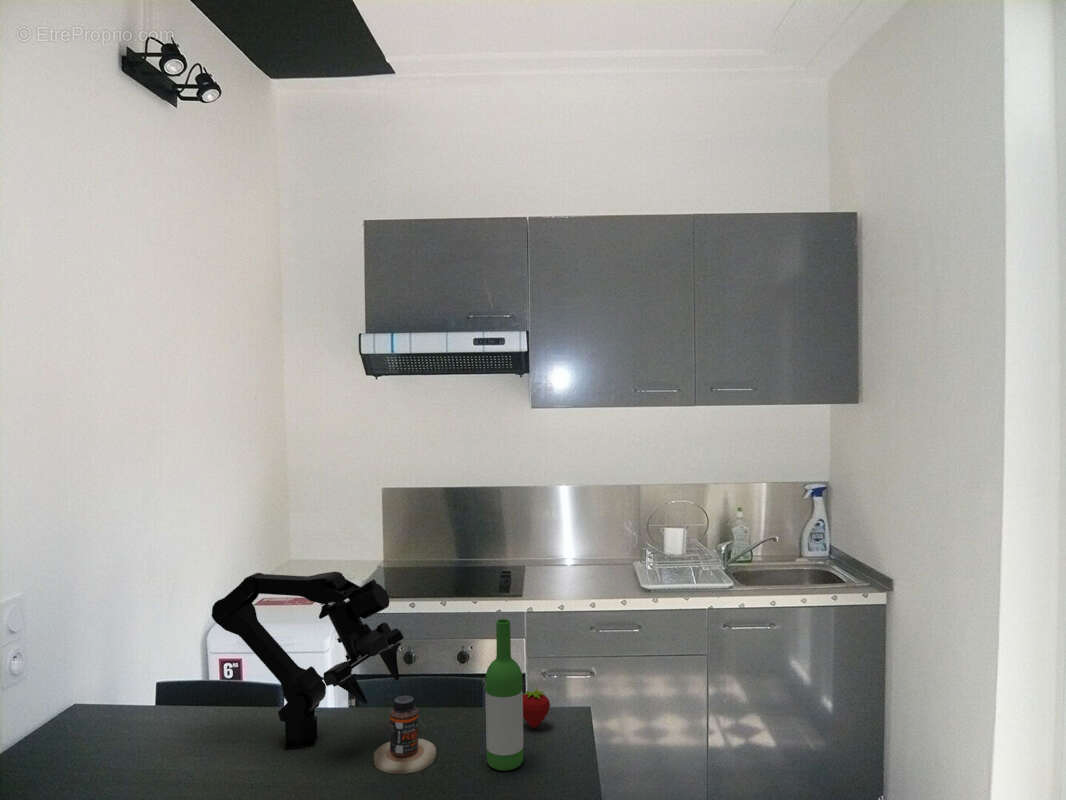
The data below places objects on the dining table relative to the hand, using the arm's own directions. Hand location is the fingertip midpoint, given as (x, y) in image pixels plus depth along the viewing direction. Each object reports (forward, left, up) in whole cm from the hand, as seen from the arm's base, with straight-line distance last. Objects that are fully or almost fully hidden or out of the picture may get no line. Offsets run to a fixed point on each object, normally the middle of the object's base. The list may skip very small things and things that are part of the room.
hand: (382, 691), depth 161 cm
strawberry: (+34, +1, -13) cm, 37 cm away
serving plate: (+4, -5, -13) cm, 14 cm away
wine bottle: (+24, -13, -13) cm, 31 cm away
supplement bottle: (+4, -5, -12) cm, 13 cm away
